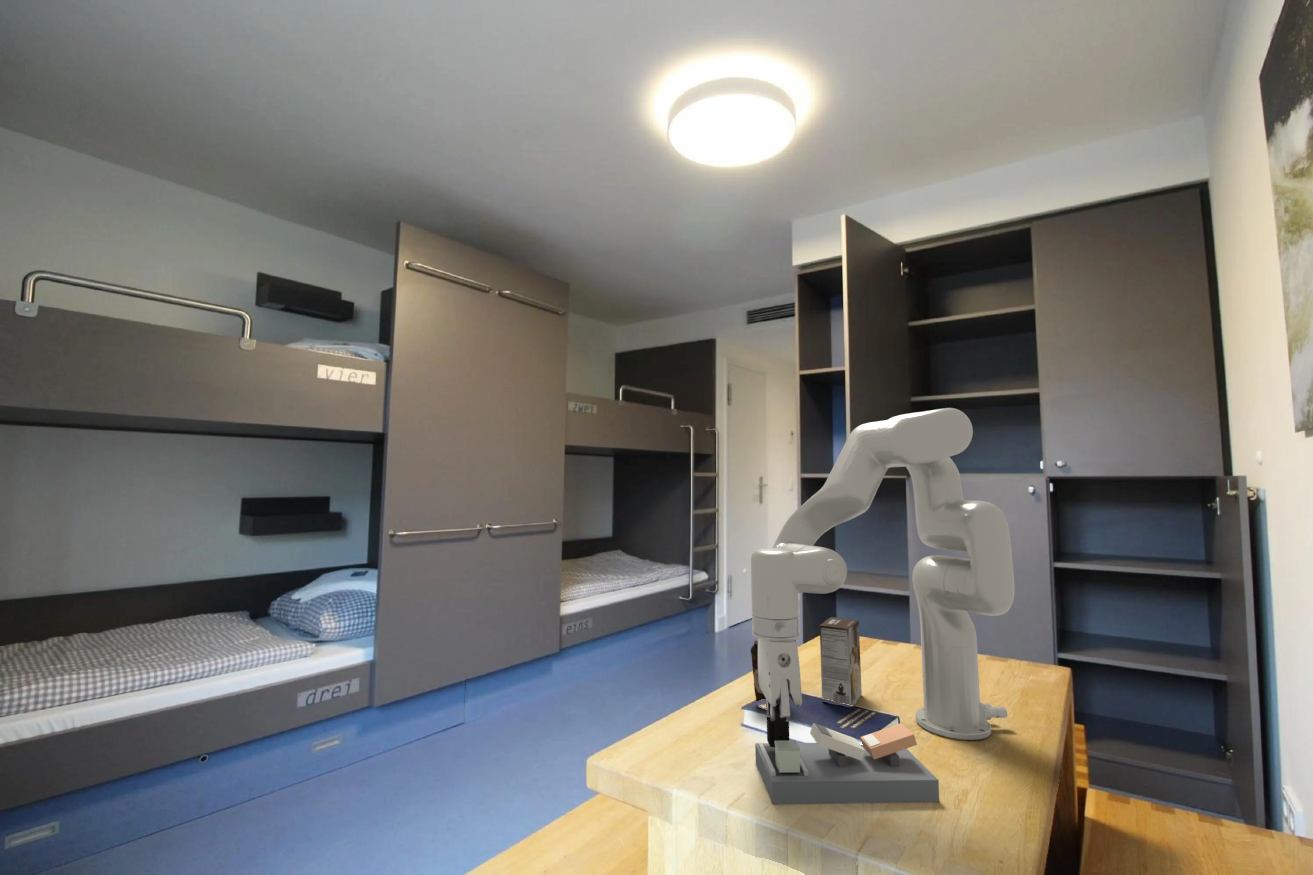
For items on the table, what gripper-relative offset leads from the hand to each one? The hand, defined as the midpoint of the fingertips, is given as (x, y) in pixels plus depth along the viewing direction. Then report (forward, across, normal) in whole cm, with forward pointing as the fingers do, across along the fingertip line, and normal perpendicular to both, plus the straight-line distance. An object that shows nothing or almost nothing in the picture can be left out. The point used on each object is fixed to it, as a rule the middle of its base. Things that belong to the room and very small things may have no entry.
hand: (778, 744), depth 87 cm
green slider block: (+1, -6, 0) cm, 6 cm away
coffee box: (+4, +30, -21) cm, 37 cm away
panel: (+4, -3, -9) cm, 10 cm away
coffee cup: (+4, +26, -5) cm, 27 cm away
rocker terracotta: (-2, -3, -16) cm, 17 cm away
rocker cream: (-2, -3, -8) cm, 9 cm away
